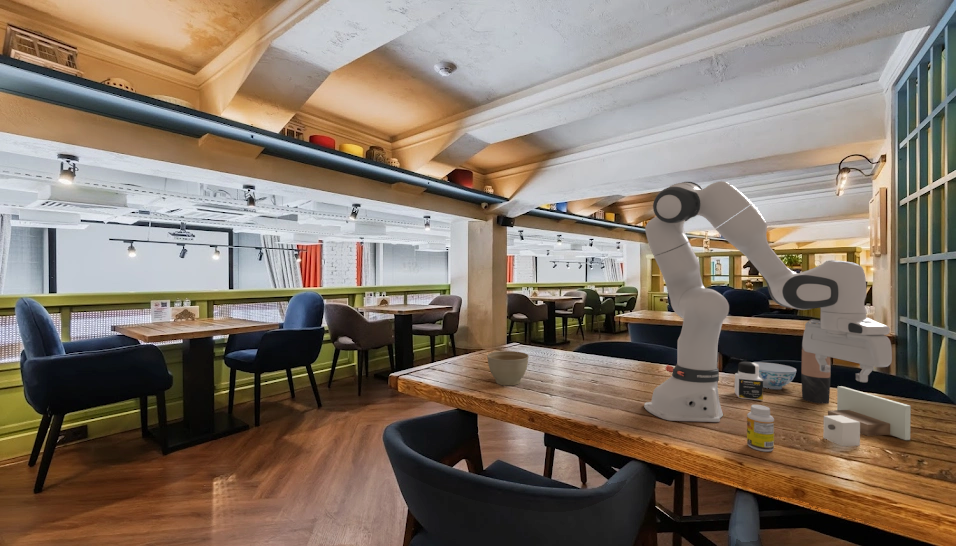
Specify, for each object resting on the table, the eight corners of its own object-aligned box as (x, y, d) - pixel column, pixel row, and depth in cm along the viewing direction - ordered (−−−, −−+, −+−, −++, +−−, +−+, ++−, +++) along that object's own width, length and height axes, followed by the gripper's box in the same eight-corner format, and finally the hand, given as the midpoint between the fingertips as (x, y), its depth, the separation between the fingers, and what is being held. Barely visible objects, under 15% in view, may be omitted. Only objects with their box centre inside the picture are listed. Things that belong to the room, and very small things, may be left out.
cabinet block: (839, 446, 103) (839, 423, 103) (820, 438, 108) (820, 415, 108) (859, 445, 103) (860, 422, 103) (840, 437, 108) (840, 415, 108)
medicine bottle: (738, 398, 141) (739, 363, 141) (734, 392, 148) (734, 359, 148) (763, 401, 138) (763, 365, 138) (757, 395, 145) (758, 361, 145)
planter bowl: (489, 376, 169) (489, 350, 168) (528, 378, 166) (528, 351, 166) (484, 387, 153) (484, 358, 152) (528, 389, 150) (528, 360, 150)
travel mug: (835, 404, 135) (836, 344, 135) (809, 403, 136) (810, 343, 136) (821, 397, 142) (821, 340, 142) (796, 396, 144) (797, 339, 144)
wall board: (905, 440, 107) (905, 405, 107) (837, 415, 125) (837, 386, 125) (910, 439, 107) (910, 405, 107) (841, 415, 125) (841, 386, 125)
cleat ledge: (867, 435, 109) (867, 424, 109) (827, 420, 120) (827, 410, 120) (890, 434, 110) (890, 423, 110) (848, 419, 121) (848, 409, 121)
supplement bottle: (748, 441, 106) (748, 401, 106) (774, 447, 102) (775, 406, 102) (745, 448, 102) (745, 407, 101) (772, 454, 98) (773, 412, 98)
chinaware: (748, 379, 166) (748, 360, 165) (795, 385, 157) (795, 365, 157) (746, 388, 153) (746, 367, 153) (797, 395, 145) (797, 373, 144)
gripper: (796, 318, 115) (795, 367, 115) (874, 329, 95) (873, 388, 95) (816, 318, 116) (815, 366, 116) (897, 328, 96) (897, 387, 96)
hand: (842, 376), depth 105 cm, fingers open, 8 cm apart
